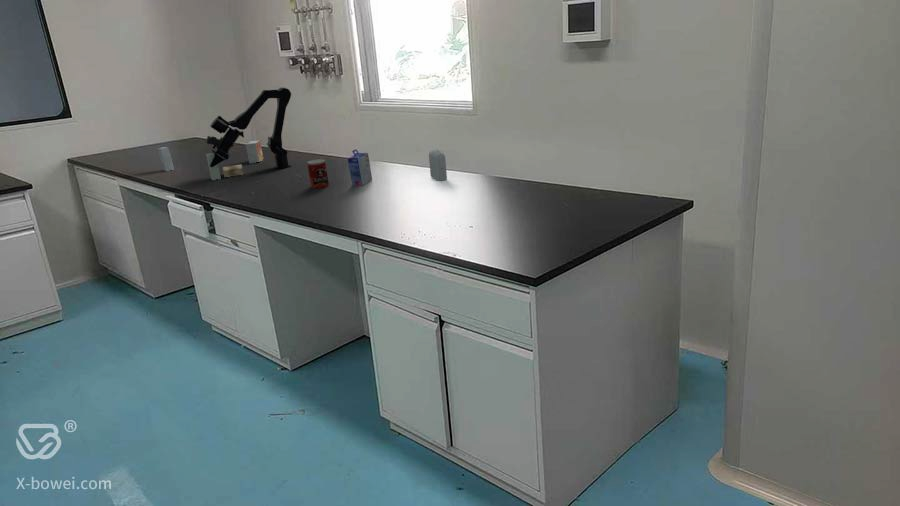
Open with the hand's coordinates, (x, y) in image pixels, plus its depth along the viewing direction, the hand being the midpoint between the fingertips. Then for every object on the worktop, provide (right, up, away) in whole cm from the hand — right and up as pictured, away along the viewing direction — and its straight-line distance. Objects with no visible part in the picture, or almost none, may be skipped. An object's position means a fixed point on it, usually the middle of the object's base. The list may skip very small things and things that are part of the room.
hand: (210, 165), depth 303 cm
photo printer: (+110, -10, -35) cm, 116 cm away
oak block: (+9, -4, +8) cm, 13 cm away
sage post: (+2, -6, +3) cm, 7 cm away
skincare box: (-35, +2, +33) cm, 48 cm away
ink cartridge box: (+77, -12, -30) cm, 84 cm away
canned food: (+59, -13, -29) cm, 67 cm away
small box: (+12, +7, +35) cm, 37 cm away
